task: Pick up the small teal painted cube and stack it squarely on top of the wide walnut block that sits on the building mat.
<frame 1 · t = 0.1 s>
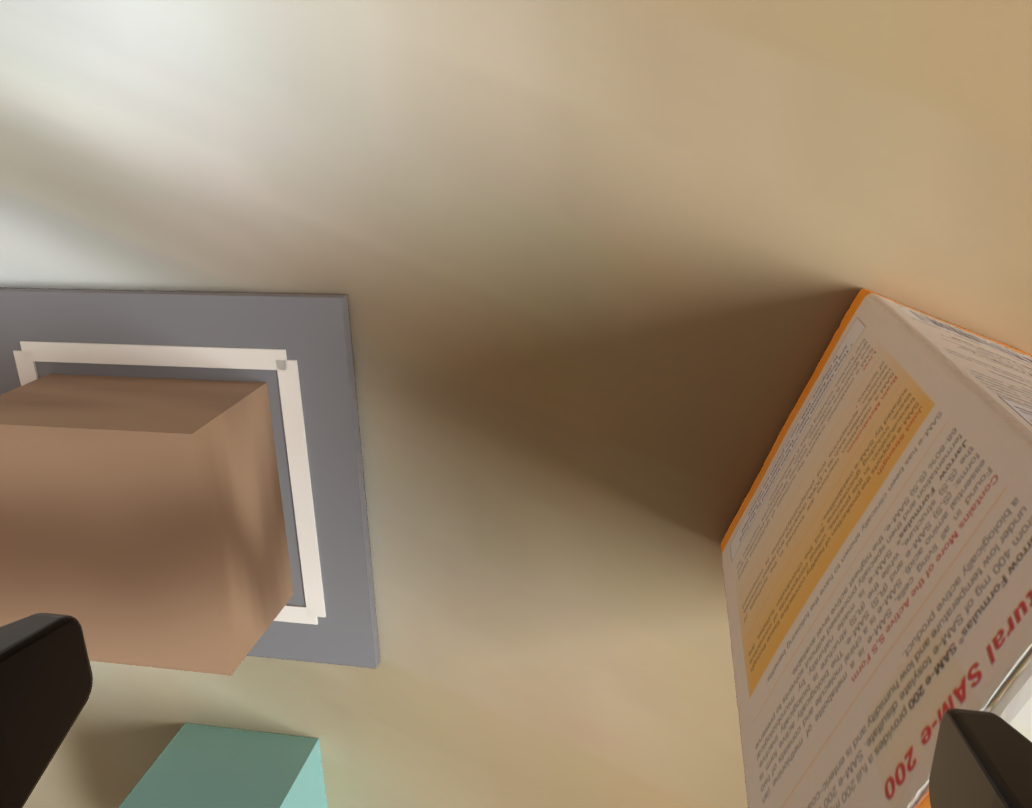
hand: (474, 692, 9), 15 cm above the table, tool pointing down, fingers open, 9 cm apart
teal cube: (260, 785, 30), on the table
supplement box: (866, 451, 22), on the table
walnut block: (174, 486, 26), resting on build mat
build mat: (181, 481, 26), on the table
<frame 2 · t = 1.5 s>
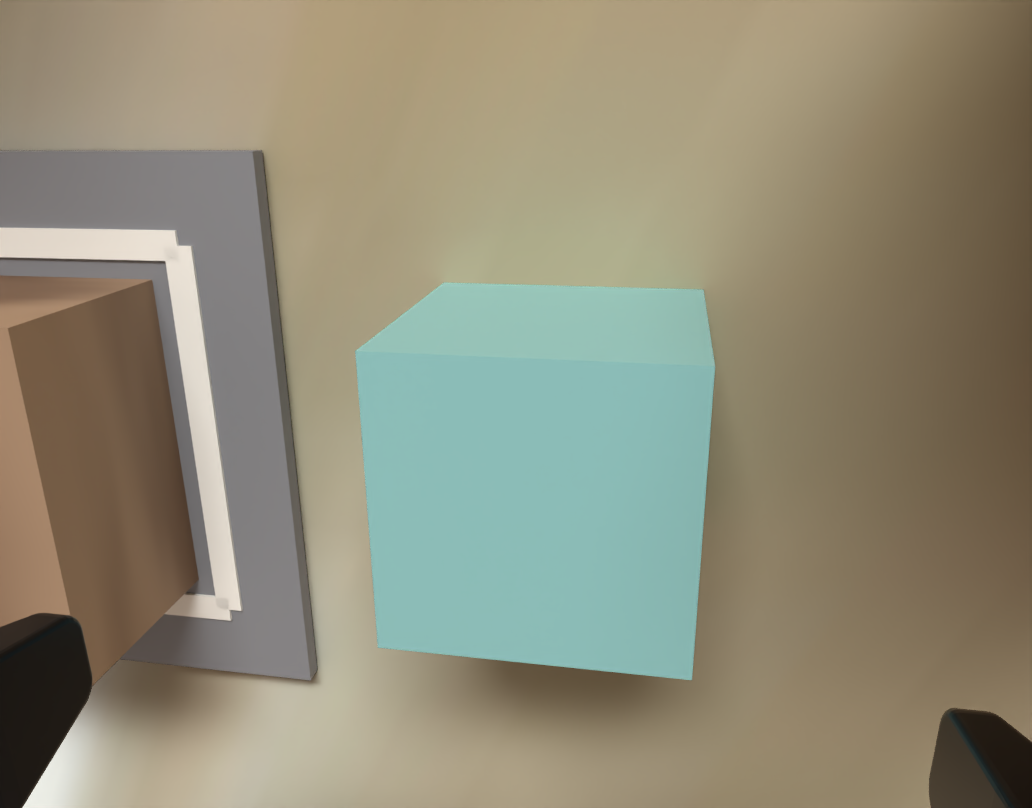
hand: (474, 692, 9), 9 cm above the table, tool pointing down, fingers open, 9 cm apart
teal cube: (569, 407, 17), on the table
walnut block: (34, 430, 19), resting on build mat
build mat: (46, 423, 19), on the table
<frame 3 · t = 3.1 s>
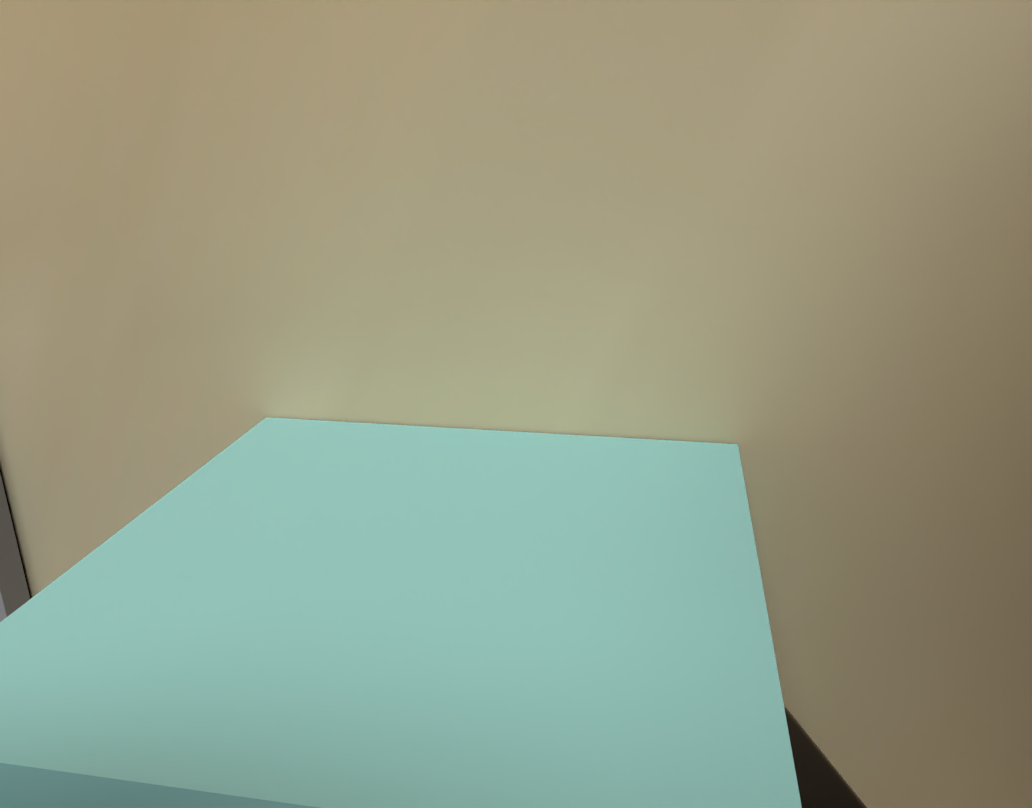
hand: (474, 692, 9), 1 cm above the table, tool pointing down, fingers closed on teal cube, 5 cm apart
teal cube: (495, 633, 10), on the table, touching gripper
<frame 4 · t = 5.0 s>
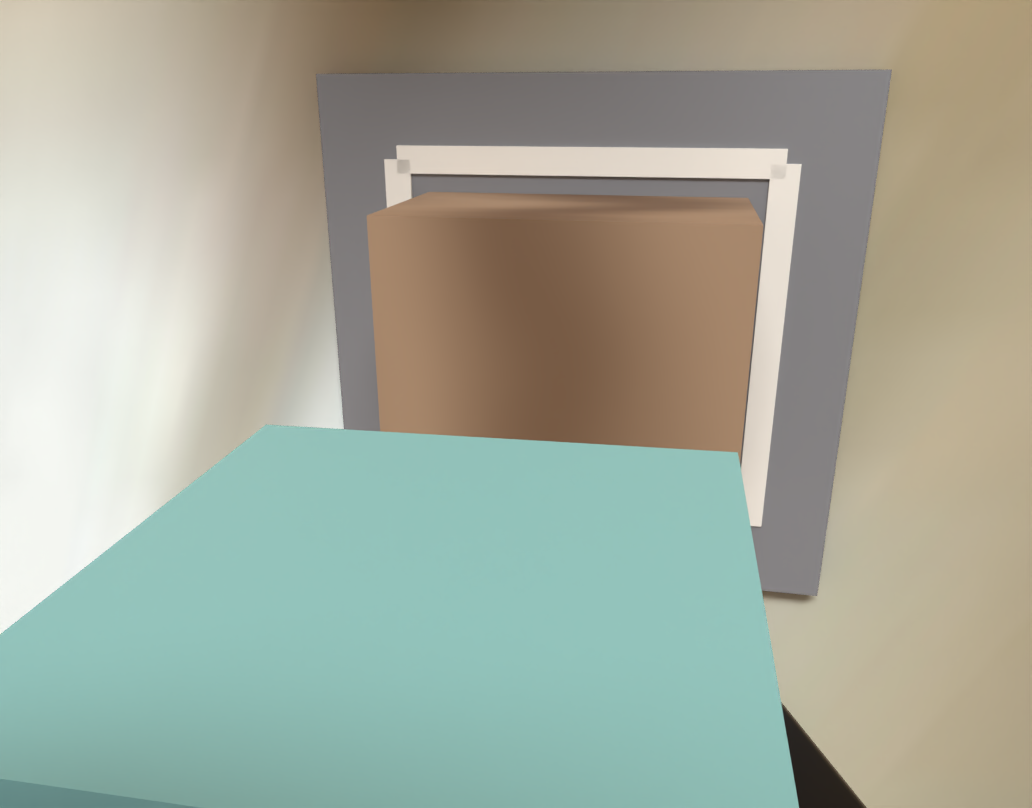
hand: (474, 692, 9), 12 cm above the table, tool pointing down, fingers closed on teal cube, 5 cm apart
teal cube: (494, 641, 10), point 11 cm above the table, touching gripper
walnut block: (579, 348, 20), resting on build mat
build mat: (581, 343, 20), on the table
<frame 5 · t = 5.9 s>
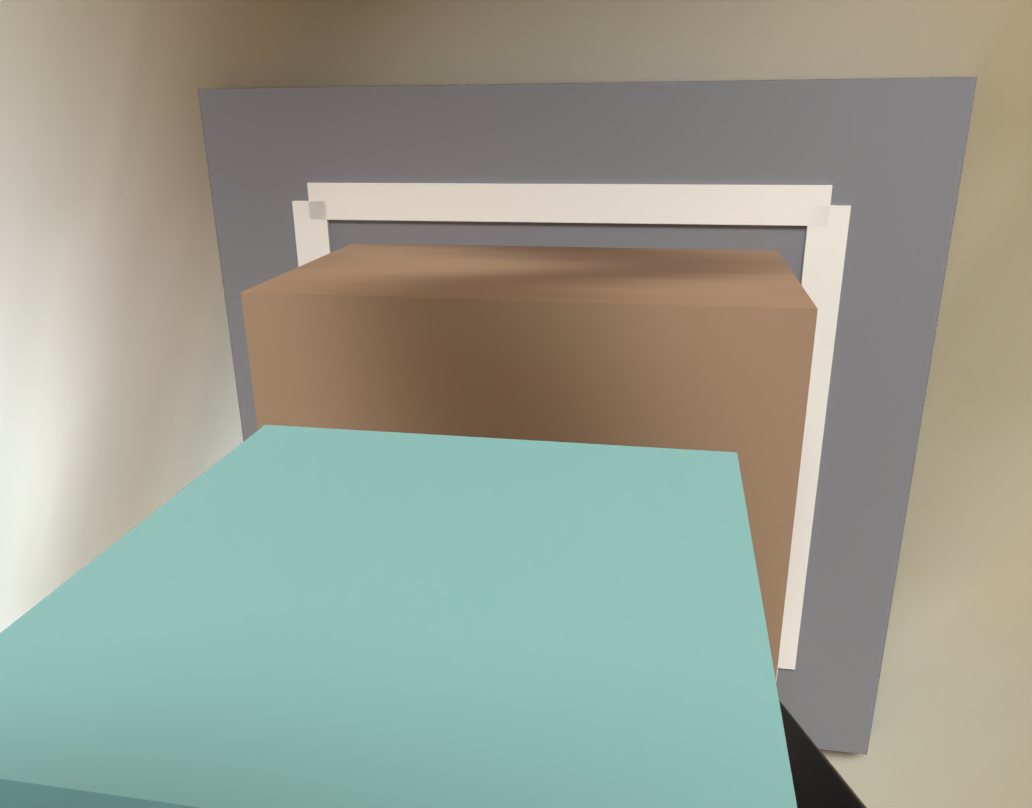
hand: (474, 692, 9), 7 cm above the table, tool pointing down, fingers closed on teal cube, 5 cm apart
teal cube: (494, 641, 10), point 6 cm above the table, touching gripper
walnut block: (555, 444, 15), resting on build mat
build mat: (557, 436, 15), on the table
when the fingers open (7 cm above the table, at t = 6.7 s): teal cube drops 2 cm, resting on walnut block.
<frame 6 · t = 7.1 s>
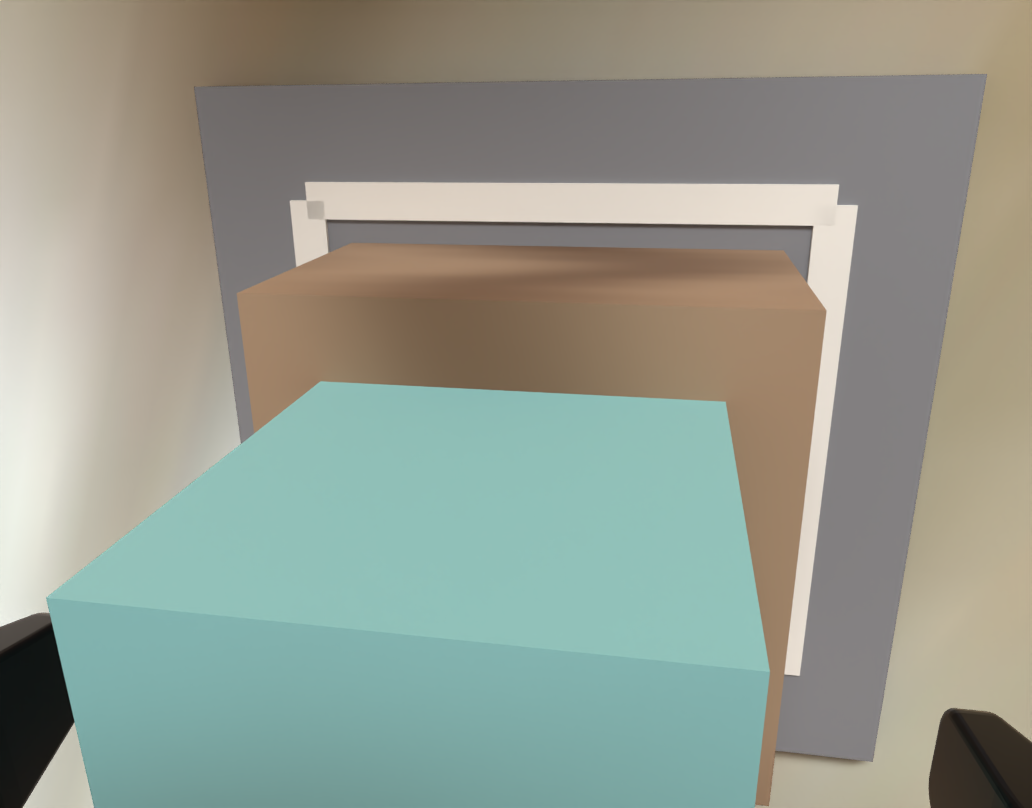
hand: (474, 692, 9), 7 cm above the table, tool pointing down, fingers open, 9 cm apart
teal cube: (516, 570, 11), point 4 cm above the table, touching walnut block
walnut block: (557, 446, 15), resting on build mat, touching teal cube
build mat: (559, 438, 15), on the table
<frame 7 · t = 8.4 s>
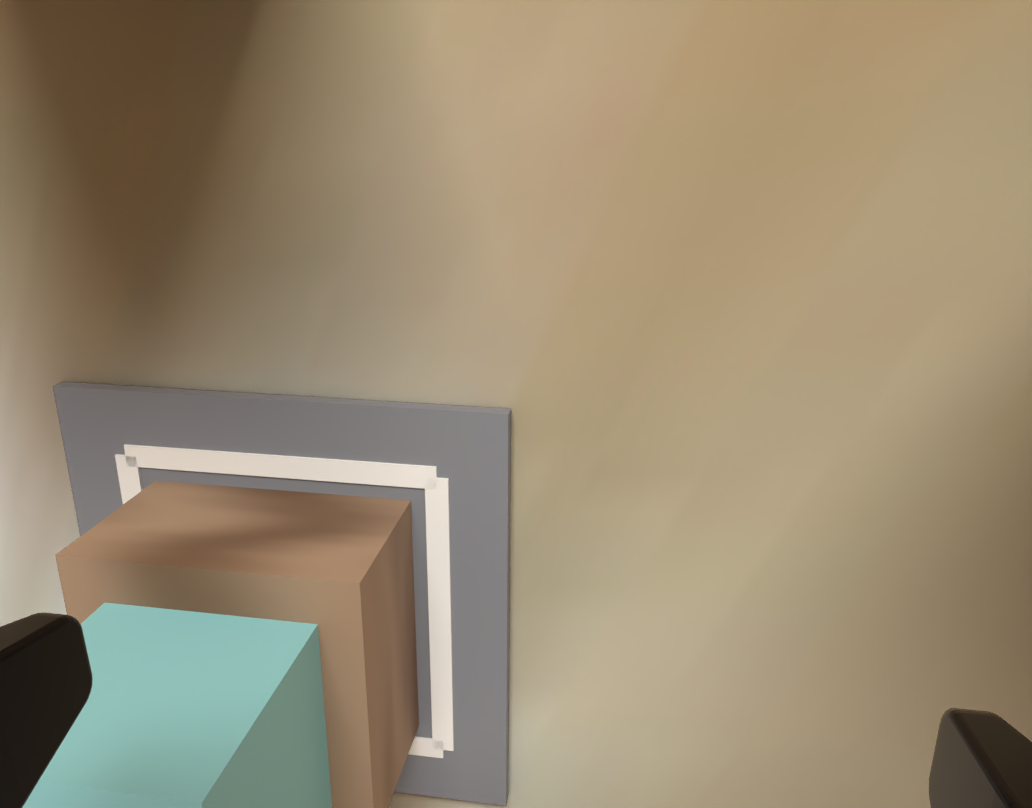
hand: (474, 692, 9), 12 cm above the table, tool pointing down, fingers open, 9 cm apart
teal cube: (221, 706, 19), point 4 cm above the table, touching walnut block
walnut block: (291, 606, 23), resting on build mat, touching teal cube
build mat: (296, 598, 23), on the table
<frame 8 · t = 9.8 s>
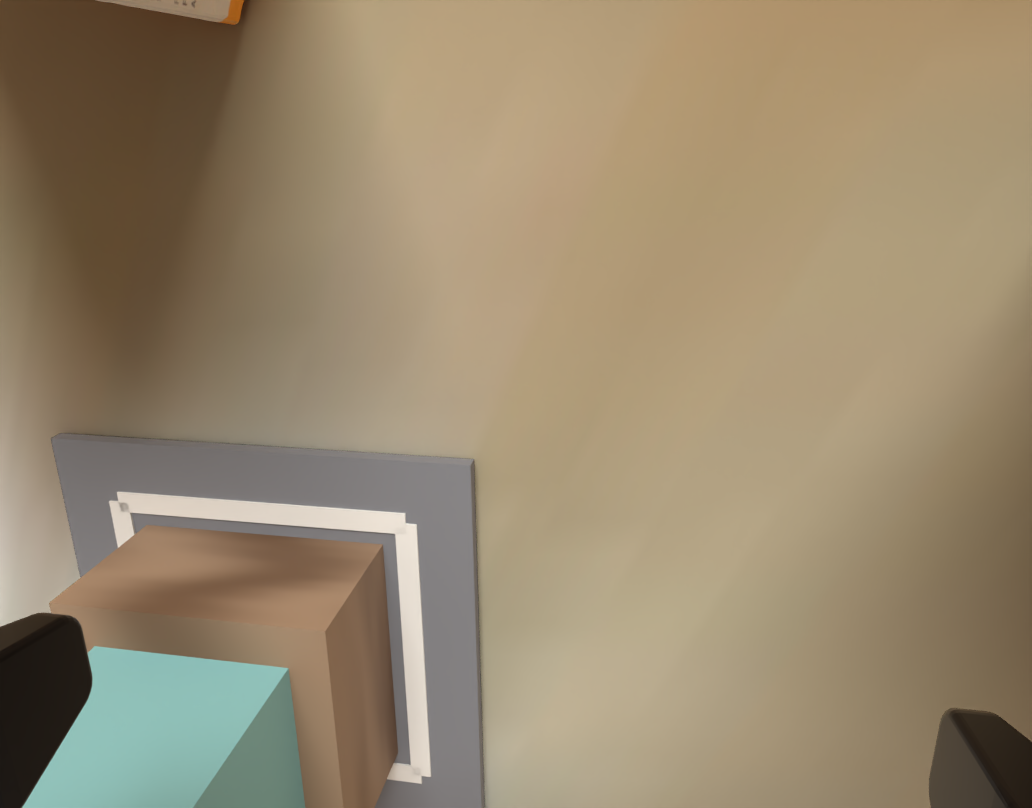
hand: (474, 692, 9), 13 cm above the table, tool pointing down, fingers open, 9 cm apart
teal cube: (203, 741, 21), point 4 cm above the table, touching walnut block
walnut block: (275, 641, 24), resting on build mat, touching teal cube
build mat: (281, 633, 25), on the table
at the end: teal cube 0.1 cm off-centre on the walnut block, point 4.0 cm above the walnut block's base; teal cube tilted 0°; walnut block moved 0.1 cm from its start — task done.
